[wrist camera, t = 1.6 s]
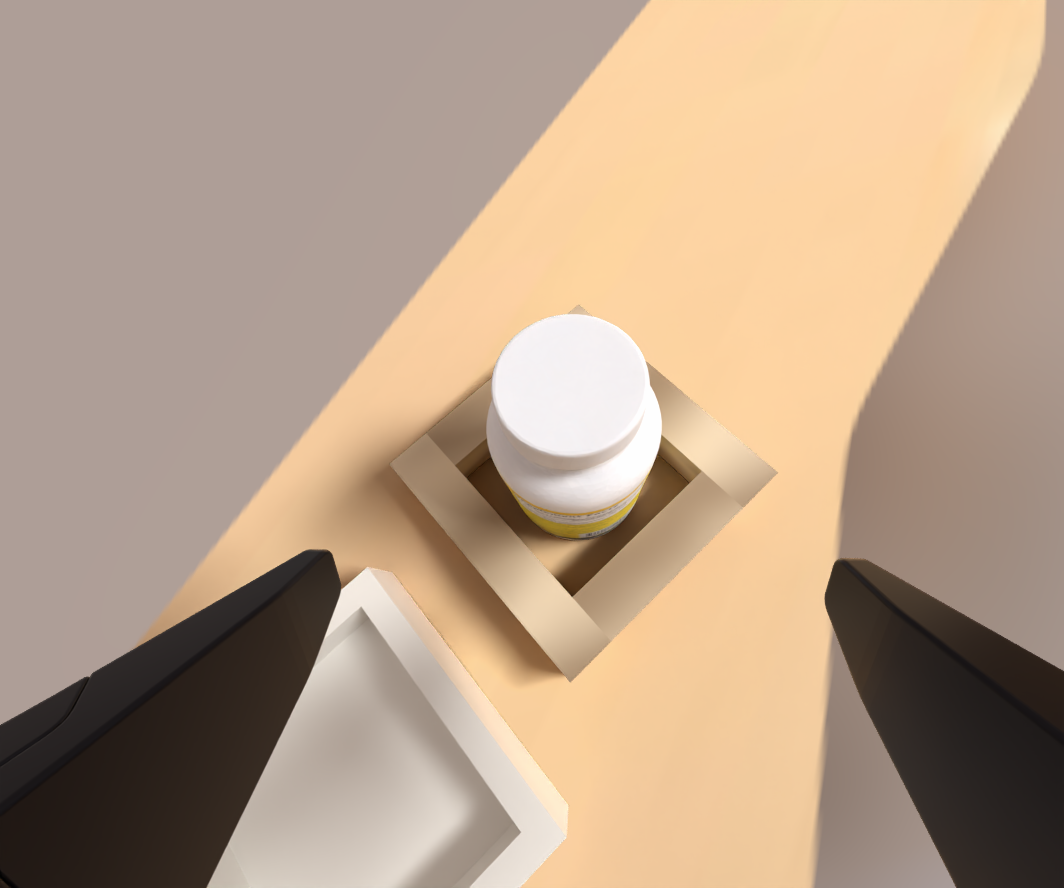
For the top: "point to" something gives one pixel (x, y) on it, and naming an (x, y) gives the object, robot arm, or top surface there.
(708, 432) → the wooden square frame
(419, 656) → the plastic tray
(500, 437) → the supplement bottle
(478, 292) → the top surface
